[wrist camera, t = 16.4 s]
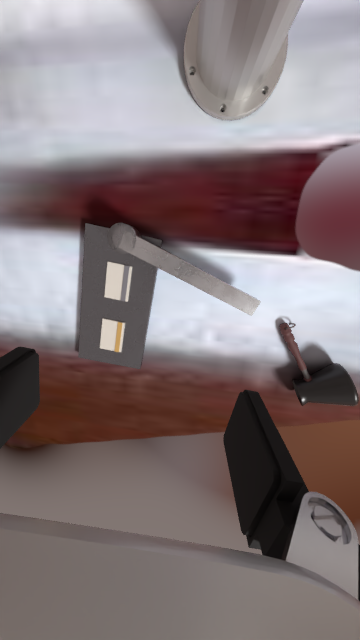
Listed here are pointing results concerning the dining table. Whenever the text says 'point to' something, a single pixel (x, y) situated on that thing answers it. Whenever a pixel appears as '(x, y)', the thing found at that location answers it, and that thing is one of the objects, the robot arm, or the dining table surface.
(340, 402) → the black dustpan
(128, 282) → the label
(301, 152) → the dining table surface
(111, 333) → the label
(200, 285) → the swing arm
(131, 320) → the chassis
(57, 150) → the dining table surface
